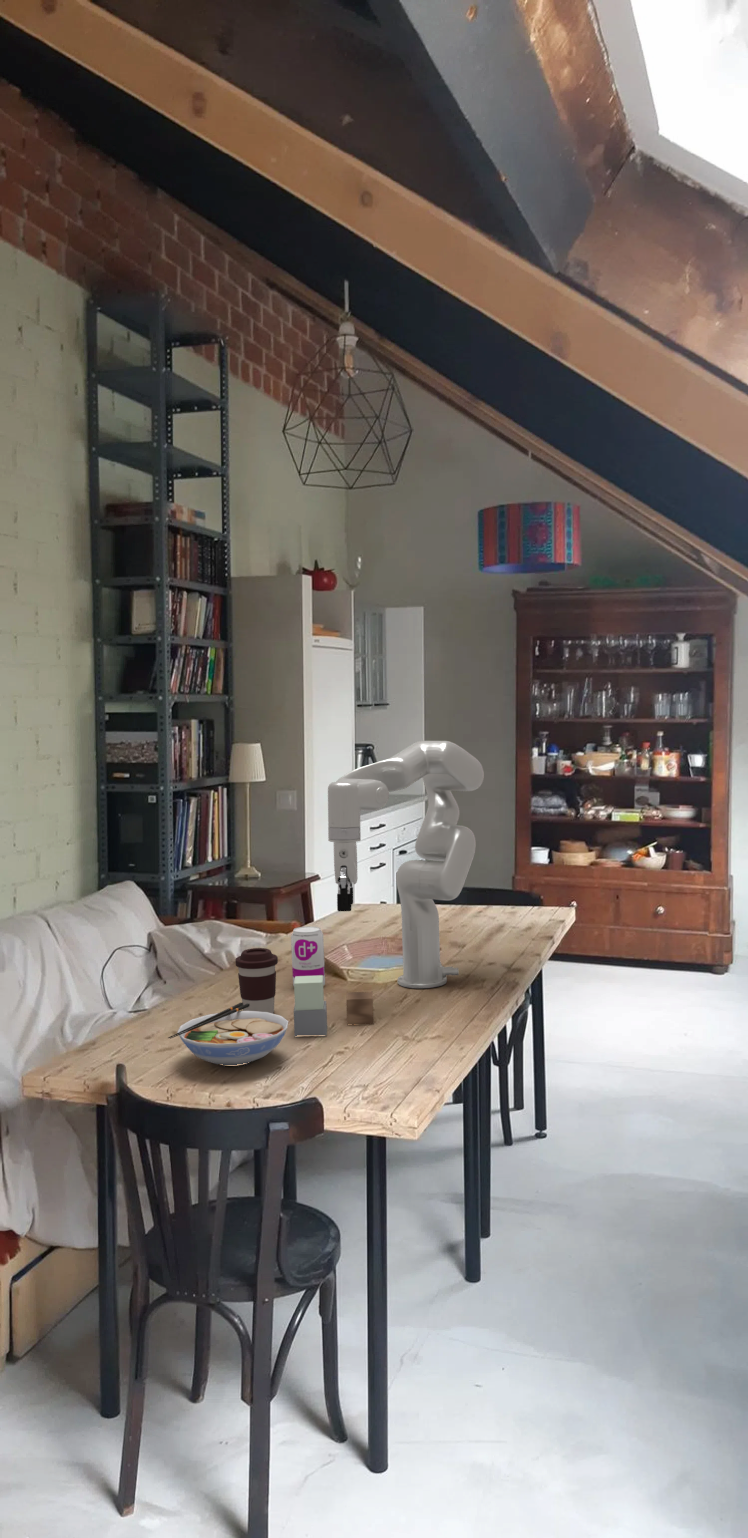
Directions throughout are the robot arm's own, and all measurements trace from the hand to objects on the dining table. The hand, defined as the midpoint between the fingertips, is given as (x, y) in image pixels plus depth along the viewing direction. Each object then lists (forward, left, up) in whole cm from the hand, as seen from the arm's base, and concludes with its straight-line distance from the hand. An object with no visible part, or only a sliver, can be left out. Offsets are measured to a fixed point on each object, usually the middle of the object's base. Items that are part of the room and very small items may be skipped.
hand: (345, 907), depth 263 cm
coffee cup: (+21, -2, -25) cm, 33 cm away
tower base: (+8, +14, -25) cm, 30 cm away
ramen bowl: (+23, +32, -25) cm, 47 cm away
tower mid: (+8, +14, -19) cm, 25 cm away
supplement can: (+10, -24, -25) cm, 36 cm away
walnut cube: (-3, +7, -25) cm, 26 cm away
